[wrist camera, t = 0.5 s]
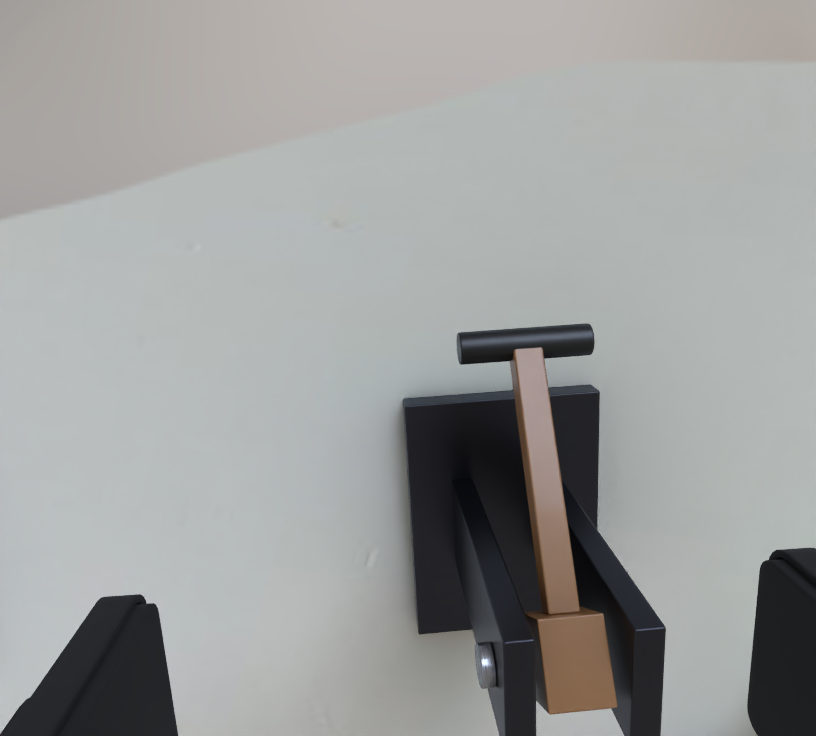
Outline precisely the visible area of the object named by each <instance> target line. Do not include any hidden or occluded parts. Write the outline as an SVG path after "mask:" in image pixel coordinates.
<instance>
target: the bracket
mask: <svg viewBox="0 0 816 736" xmlns="http://www.w3.org/2000/svg"><path fill="white" fill-rule="evenodd" d="M548 389H549V396H550V403H551V410H552V417H553V424H554V431H555V438H556V445H557V452H558V459H559V466H560V473H561V480H562V487H563V494H564V501H565V508H566V515H567V522H568V529H569V536H570V543H571V550H572V557H573V564H574V571H575V578H576V585H577V592H578V599H579V606H580V607H584V608H587V609H590V610H593V611H597V612H600V613H603V614H604V620H605V627H606V633H607V640H608V646H609V653H610V659H611V666H612V673H613V679H614V686H615V692H616V699H617V708H611V709H612V711H613V713H614V715H615V717H616V719H617V721H618V723H619V725H620V727H621V729H622V731H623V734H624V736H660V733H661V713H662V692H663V672H664V652H665V632H666V628H665V626H664V624H663V623H662V622H661V620H660V619H659V617H658V616H657V614H656V613H655V612H654V610H653V609H652V607H651V606H650V604H649V603H648V602H647V600H646V599H645V597H644V596H643V595H642V593H641V592H640V590H639V589H638V587H637V586H636V585H635V583H634V582H633V580H632V579H631V577H630V576H629V575H628V573H627V572H626V570H625V569H624V567H623V566H622V565H621V563H620V562H619V560H618V559H617V557H616V556H615V555H614V553H613V552H612V550H611V549H610V547H609V546H608V545H607V543H606V542H605V540H604V539H603V537H602V536H601V535H600V533H599V532H598V530H597V509H598V452H599V396H600V392H599V391H598V390H597V389H596V388H594V387H593V386H592V385H578V386H565V387H552V388H548ZM403 408H404V424H405V439H406V455H407V471H408V487H409V503H410V519H411V535H412V551H413V566H414V582H415V598H416V614H417V625H418V632H419V634H428V633H439V632H449V631H460V630H471V629H473V633H474V637H475V641H476V645H475V659H476V668H477V675H478V680H479V684H480V687H481V688H482V689H484V688H488V692H489V696H490V700H491V704H492V708H493V712H494V716H495V719H496V723H497V727H498V731H499V735H500V736H536V663H535V638H534V636H533V633H532V631H531V628H530V626H529V623H528V620H527V618H526V615H525V613H524V612H532V611H542V606H541V599H540V591H539V583H538V576H537V568H536V560H535V552H534V545H533V537H532V529H531V521H530V514H529V506H528V498H527V490H526V483H525V475H524V467H523V459H522V452H521V444H520V436H519V428H518V421H517V413H516V405H515V397H514V390H512V391H499V392H486V393H473V394H460V395H447V396H433V397H420V398H407V399H403Z"/></svg>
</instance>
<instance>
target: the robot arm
mask: <svg viewBox="0 0 816 736" xmlns="http://www.w3.org/2000/svg"><path fill="white" fill-rule="evenodd" d="M748 715H749V718H750V722H751V724H752V727H753V729H754V730H755V732H756V734H757V735H758V736H816V549H815V548H800V549H786V550H776V551H774V552H772V554H771V556H770V558H769V560H766V561H764V562H763V563H762V565H761V568H760V574H759V585H758V596H757V607H756V617H755V628H754V639H753V650H752V661H751V671H750V682H749V693H748ZM0 736H178V732H177V726H176V719H175V713H174V707H173V700H172V694H171V688H170V681H169V675H168V669H167V662H166V656H165V650H164V643H163V637H162V631H161V624H160V618H159V612H158V608H157V606H156V605H155V604H154V603H153V604H146V600H145V599H144V597H143V596H142V595H140V594H139V595H125V596H111V597H103V598H100V599H99V600H98V601H97V603H96V604H95V606H94V607H93V608H92V610H91V611H90V613H89V614H88V616H87V617H86V619H85V620H84V621H83V623H82V624H81V626H80V627H79V629H78V630H77V631H76V633H75V634H74V636H73V637H72V639H71V640H70V642H69V643H68V644H67V646H66V647H65V649H64V650H63V652H62V653H61V654H60V656H59V657H58V659H57V660H56V662H55V663H54V664H53V666H52V667H51V669H50V670H49V672H48V673H47V675H46V676H45V677H44V679H43V680H42V682H41V683H40V685H39V686H38V687H37V689H36V690H35V692H34V693H33V695H32V696H31V697H30V698H28V699H27V700H26V701H25V702H24V703H23V704H22V705H21V706H20V707H19V708H18V710H17V711H16V713H15V714H14V716H13V717H12V718H11V720H10V721H9V723H8V724H7V725H6V727H5V728H4V730H3V731H2V733H1V734H0Z"/></svg>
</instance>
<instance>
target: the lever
mask: <svg viewBox="0 0 816 736" xmlns="http://www.w3.org/2000/svg"><path fill="white" fill-rule="evenodd" d="M593 349H594V333H593V330H592V327H591V325H590V324H574V325H560V326H545V327H531V328H517V329H503V330H489V331H475V332H461V333H458V334H457V354H458V360H459V363H460V364H474V363H488V362H502V361H510V366H511V374H512V382H513V390H514V397H515V405H516V413H517V421H518V428H519V436H520V444H521V452H522V459H523V467H524V475H525V483H526V490H527V498H528V506H529V514H530V521H531V529H532V537H533V545H534V552H535V560H536V568H537V576H538V583H539V591H540V599H541V606H542V611H532V612H524V613H525V615H526V618H527V620H528V623H529V626H530V628H531V631H532V633H533V636H534V638H535V663H536V701H537V702H538V703H539V704H540V705H541V706H542V707H543V708H544V709H545V710H546V711H547V712H548V713H549V714H559V713H569V712H579V711H589V710H599V709H608V708H617V699H616V692H615V686H614V679H613V673H612V666H611V659H610V653H609V646H608V640H607V633H606V627H605V620H604V614H603V613H600V612H597V611H593V610H590V609H587V608H584V607H580V606H579V599H578V592H577V585H576V578H575V571H574V564H573V557H572V550H571V543H570V536H569V529H568V522H567V515H566V508H565V501H564V494H563V487H562V480H561V473H560V466H559V459H558V452H557V445H556V438H555V431H554V424H553V417H552V410H551V403H550V396H549V389H548V382H547V375H546V369H545V362H544V358H556V357H569V356H583V355H591V354H592V352H593Z"/></svg>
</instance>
